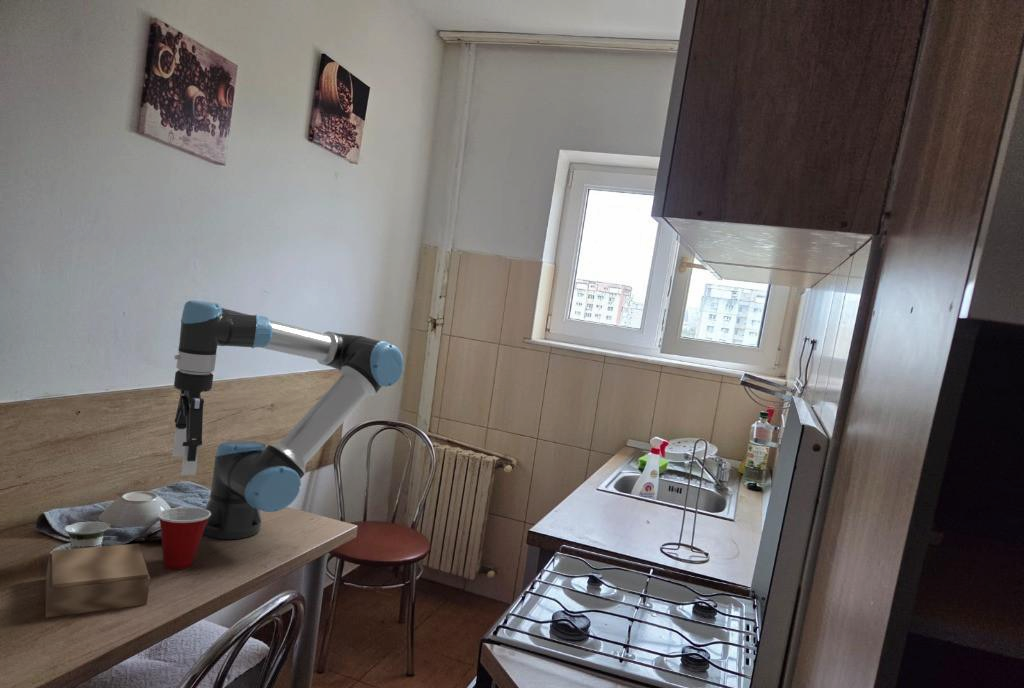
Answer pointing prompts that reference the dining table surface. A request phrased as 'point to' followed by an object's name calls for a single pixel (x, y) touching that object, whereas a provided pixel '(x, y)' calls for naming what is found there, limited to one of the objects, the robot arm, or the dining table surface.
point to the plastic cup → (181, 534)
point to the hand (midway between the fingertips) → (183, 465)
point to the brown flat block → (95, 579)
